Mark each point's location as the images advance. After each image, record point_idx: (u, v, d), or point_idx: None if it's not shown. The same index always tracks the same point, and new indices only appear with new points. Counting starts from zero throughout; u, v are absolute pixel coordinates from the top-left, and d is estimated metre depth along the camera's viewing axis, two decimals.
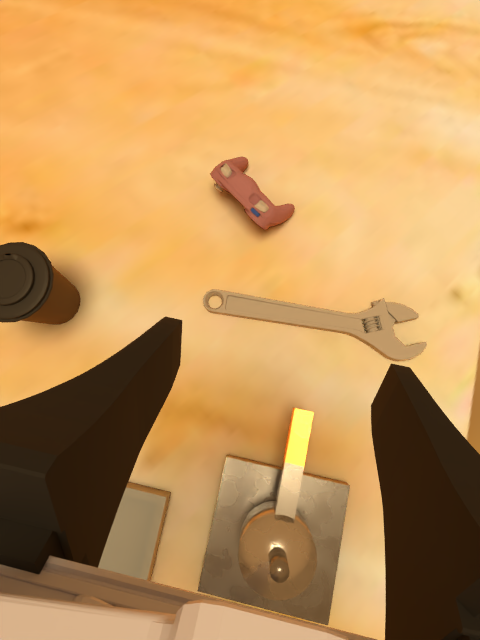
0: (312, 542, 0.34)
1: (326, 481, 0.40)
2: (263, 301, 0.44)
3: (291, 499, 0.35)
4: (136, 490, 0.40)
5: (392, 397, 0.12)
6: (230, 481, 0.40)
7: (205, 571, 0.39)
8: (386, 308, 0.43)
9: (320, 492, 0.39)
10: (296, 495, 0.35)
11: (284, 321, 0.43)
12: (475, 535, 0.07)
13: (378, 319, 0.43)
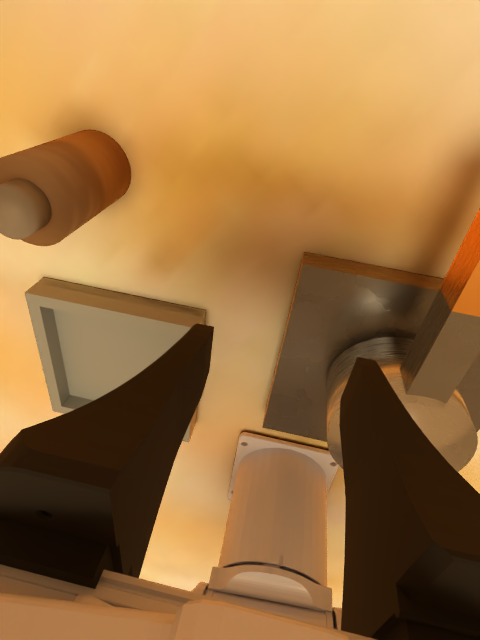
0: (473, 434, 0.18)
1: None
2: None
3: (448, 375, 0.16)
4: (144, 318, 0.23)
5: (356, 389, 0.12)
6: (312, 304, 0.21)
7: (272, 410, 0.26)
8: None
9: None
10: (462, 369, 0.16)
11: None
12: (413, 521, 0.07)
13: None
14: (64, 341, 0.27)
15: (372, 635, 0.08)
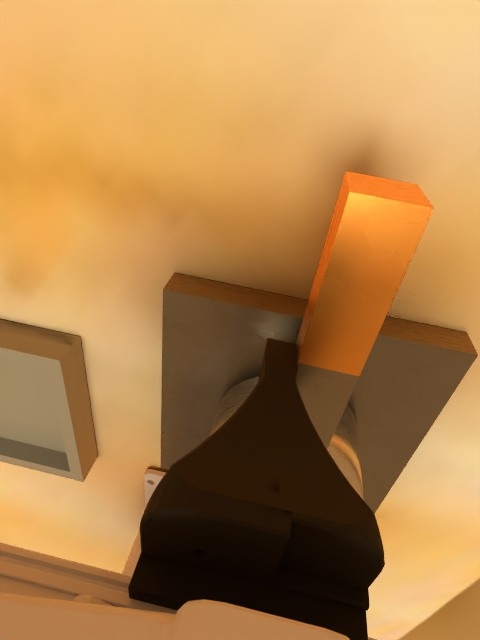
0: None
1: (416, 344, 0.16)
2: None
3: None
4: (0, 347, 0.19)
5: (261, 369, 0.12)
6: (183, 335, 0.17)
7: (166, 450, 0.23)
8: None
9: (395, 363, 0.16)
10: (327, 431, 0.13)
11: None
12: None
13: None
14: None
15: None
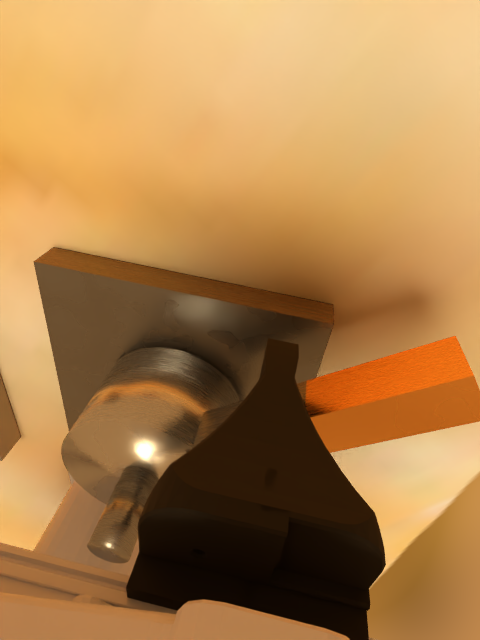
0: None
1: (275, 314, 0.16)
2: None
3: None
4: None
5: (262, 369, 0.12)
6: (63, 308, 0.18)
7: None
8: None
9: (261, 334, 0.17)
10: None
11: None
12: None
13: None
14: None
15: None
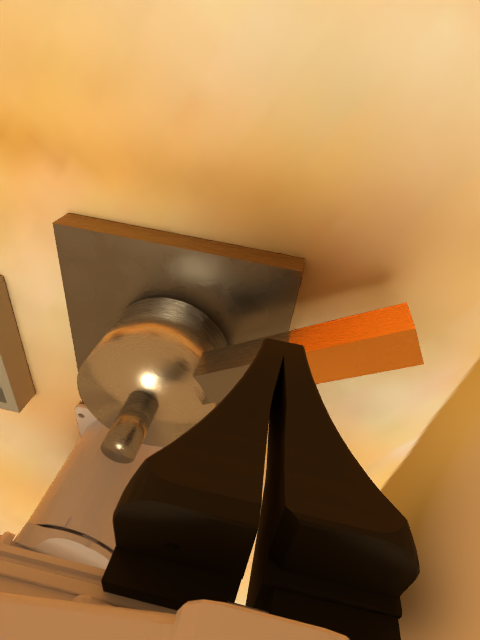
0: None
1: (255, 264, 0.19)
2: None
3: None
4: None
5: (279, 373, 0.12)
6: (76, 265, 0.21)
7: None
8: None
9: (243, 283, 0.20)
10: None
11: None
12: (282, 490, 0.07)
13: None
14: None
15: (254, 605, 0.08)
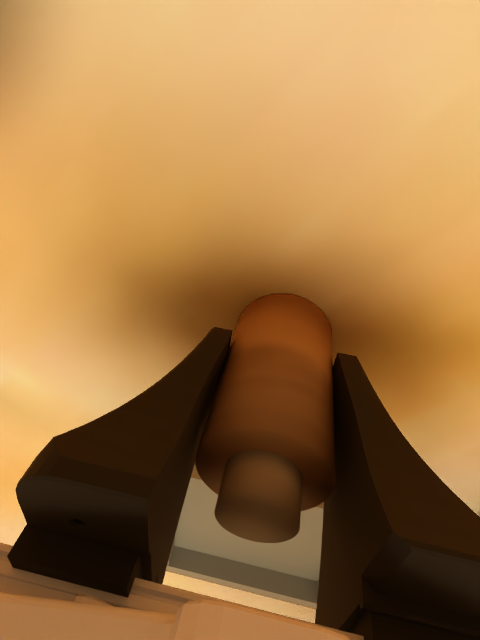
0: None
1: None
2: None
3: None
4: (316, 507, 0.17)
5: (336, 385, 0.12)
6: None
7: None
8: None
9: None
10: None
11: None
12: (378, 512, 0.07)
13: None
14: None
15: (340, 627, 0.08)
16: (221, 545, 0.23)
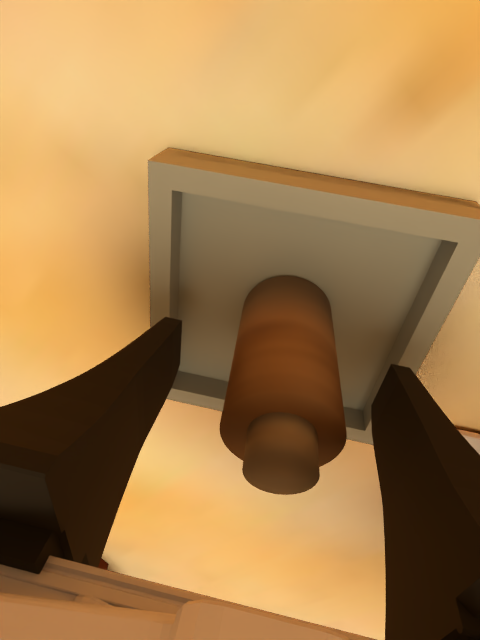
0: None
1: None
2: None
3: None
4: (388, 205, 0.12)
5: (392, 397, 0.12)
6: None
7: None
8: None
9: None
10: None
11: None
12: (475, 535, 0.07)
13: None
14: (188, 273, 0.16)
15: None
16: None
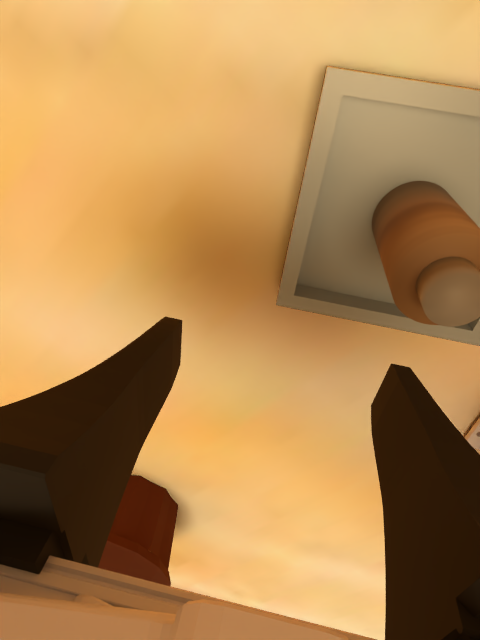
0: None
1: None
2: None
3: None
4: None
5: (392, 397, 0.12)
6: None
7: None
8: None
9: None
10: None
11: None
12: (475, 535, 0.07)
13: None
14: (328, 184, 0.18)
15: None
16: (356, 269, 0.20)
